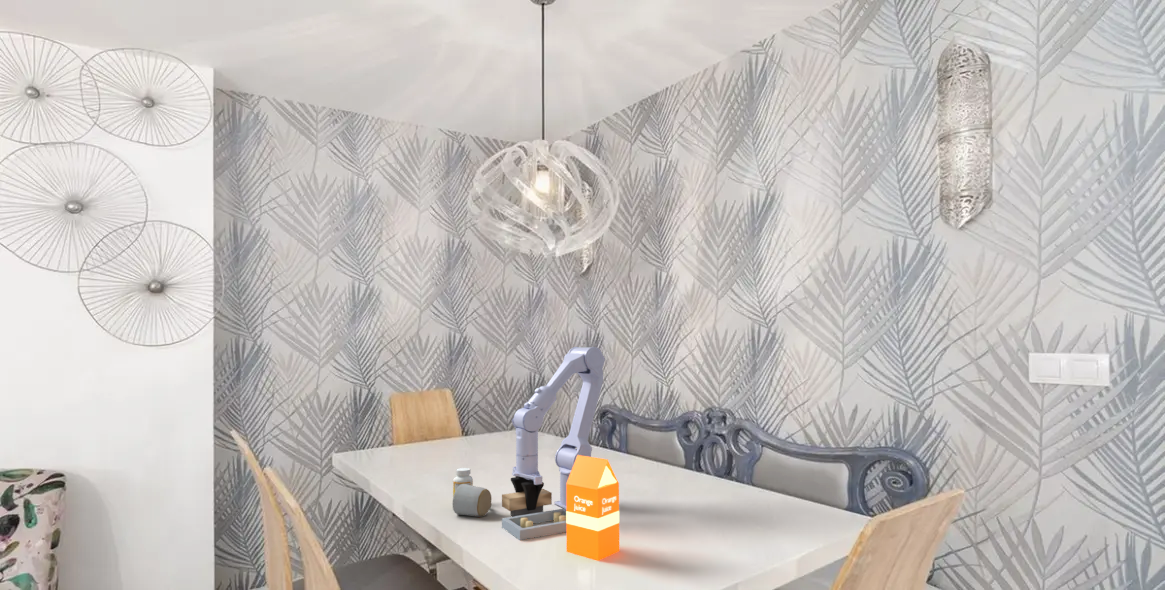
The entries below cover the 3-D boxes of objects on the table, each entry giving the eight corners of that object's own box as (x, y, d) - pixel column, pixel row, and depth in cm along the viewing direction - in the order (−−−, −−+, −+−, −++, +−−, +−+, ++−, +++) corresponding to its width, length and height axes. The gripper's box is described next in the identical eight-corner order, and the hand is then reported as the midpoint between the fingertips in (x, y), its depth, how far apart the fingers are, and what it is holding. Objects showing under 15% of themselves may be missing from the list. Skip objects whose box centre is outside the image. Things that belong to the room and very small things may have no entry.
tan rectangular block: (543, 500, 160) (543, 488, 160) (551, 504, 156) (551, 492, 156) (501, 506, 154) (501, 494, 155) (509, 510, 150) (509, 498, 150)
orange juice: (588, 542, 134) (588, 452, 135) (620, 551, 128) (619, 456, 130) (565, 551, 128) (565, 457, 129) (597, 561, 122) (597, 462, 124)
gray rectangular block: (538, 511, 158) (538, 501, 158) (543, 514, 156) (543, 504, 156) (510, 515, 154) (510, 506, 154) (515, 518, 152) (515, 508, 152)
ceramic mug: (479, 520, 150) (479, 489, 151) (451, 517, 153) (452, 487, 154) (498, 510, 160) (499, 481, 161) (472, 507, 163) (472, 479, 164)
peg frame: (564, 517, 153) (564, 507, 153) (585, 528, 144) (585, 517, 144) (501, 527, 144) (501, 517, 145) (519, 540, 135) (519, 529, 135)
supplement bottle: (465, 507, 162) (466, 471, 163) (449, 505, 164) (449, 470, 165) (476, 502, 167) (476, 468, 168) (459, 500, 169) (460, 466, 170)
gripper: (502, 451, 160) (502, 502, 159) (524, 460, 148) (524, 516, 147) (526, 449, 164) (525, 499, 163) (549, 457, 151) (549, 512, 150)
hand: (526, 507), depth 155 cm, fingers closed on tan rectangular block, 5 cm apart
